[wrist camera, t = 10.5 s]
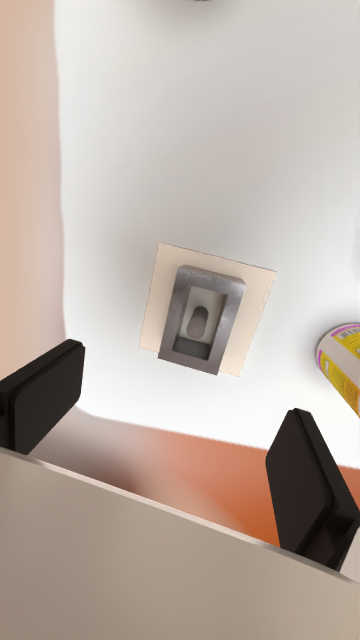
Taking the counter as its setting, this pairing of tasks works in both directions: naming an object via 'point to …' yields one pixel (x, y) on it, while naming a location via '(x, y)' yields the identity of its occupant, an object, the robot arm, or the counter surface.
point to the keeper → (205, 303)
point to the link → (211, 355)
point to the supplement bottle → (342, 362)
